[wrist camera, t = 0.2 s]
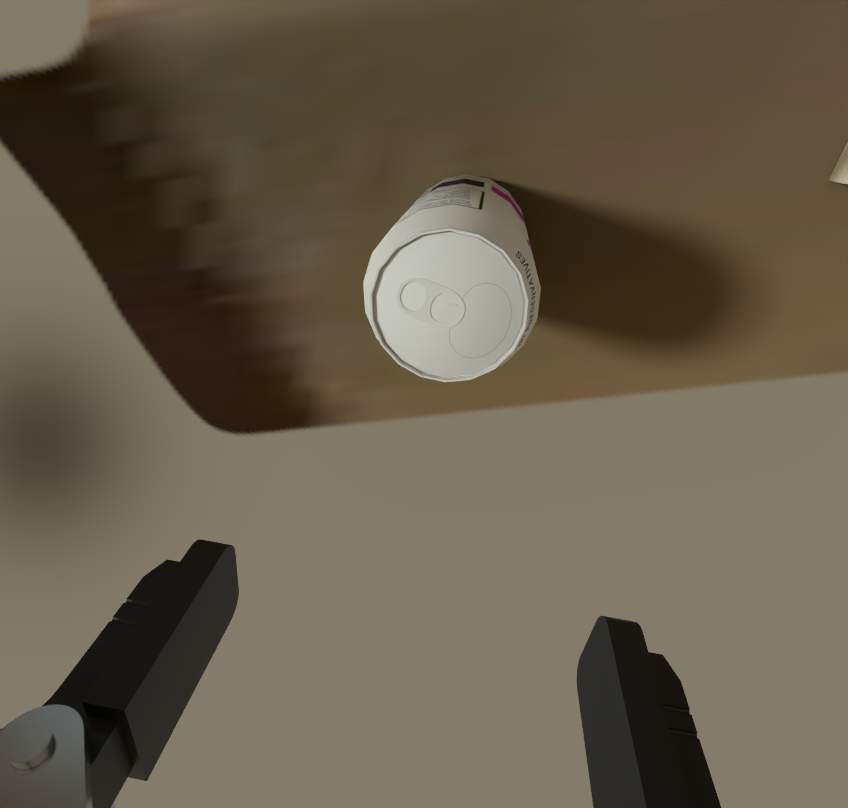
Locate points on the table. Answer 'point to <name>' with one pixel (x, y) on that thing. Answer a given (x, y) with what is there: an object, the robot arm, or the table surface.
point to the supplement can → (454, 282)
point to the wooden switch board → (841, 168)
